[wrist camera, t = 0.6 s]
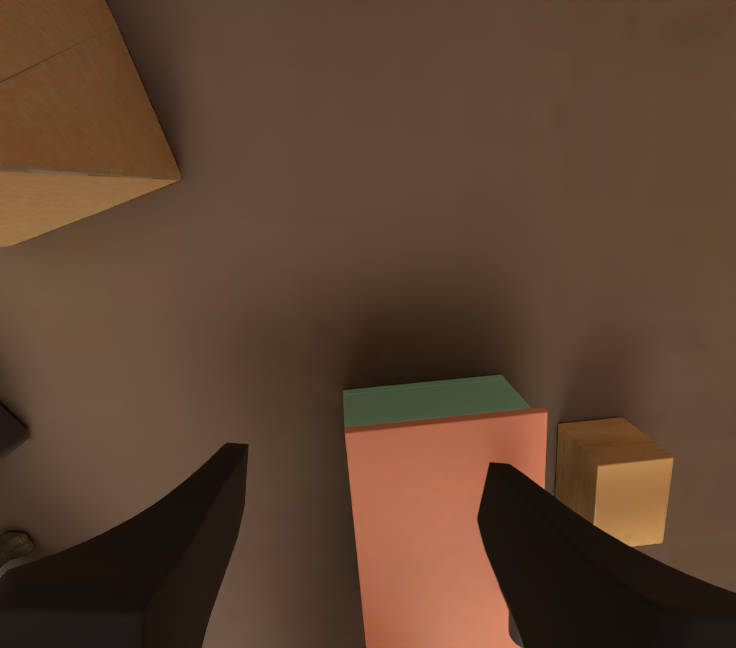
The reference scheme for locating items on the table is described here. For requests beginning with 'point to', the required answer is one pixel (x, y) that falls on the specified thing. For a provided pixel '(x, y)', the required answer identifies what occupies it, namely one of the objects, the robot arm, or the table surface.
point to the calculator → (10, 433)
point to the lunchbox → (430, 400)
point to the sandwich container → (71, 118)
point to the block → (614, 478)
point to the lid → (434, 526)
